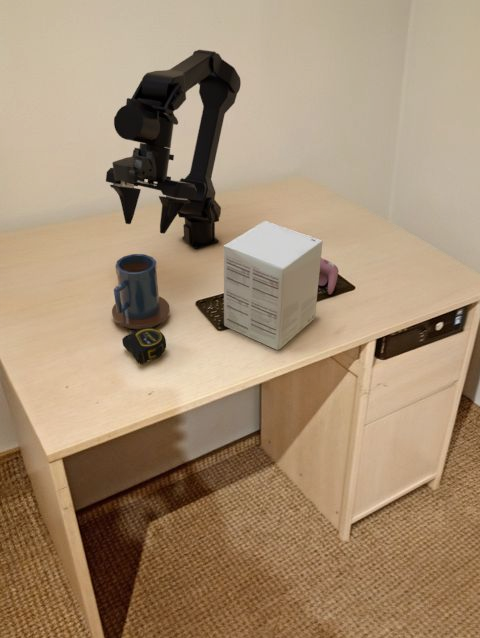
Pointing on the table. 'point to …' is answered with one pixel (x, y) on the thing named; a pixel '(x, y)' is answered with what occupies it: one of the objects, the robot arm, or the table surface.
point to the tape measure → (145, 344)
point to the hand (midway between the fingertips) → (144, 228)
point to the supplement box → (271, 283)
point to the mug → (138, 293)
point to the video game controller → (328, 275)
